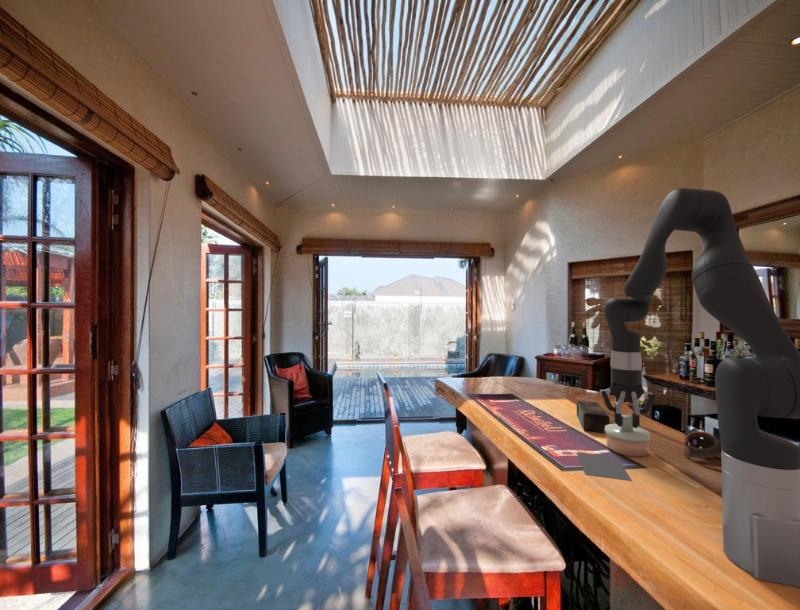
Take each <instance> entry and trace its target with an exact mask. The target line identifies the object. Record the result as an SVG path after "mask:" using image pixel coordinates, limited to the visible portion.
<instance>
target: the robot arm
mask: <svg viewBox="0 0 800 610" xmlns="http://www.w3.org/2000/svg"><path fill="white" fill-rule="evenodd" d="M674 231H683V232H684V231H685V232H693V233H696V234H698V235H699V237H700V238H701V241H702V243H703V247H704V249H703V252H702V253H701V254H700V256H699V258H698V259H697V261H696V263H694V264H695V265H694V267H693V269H692V272H691V281H692V286H693V287H694V291H695V293H696V296H697V299H698V302H699V304H700V306H701V307H702V308H703V309H704V310H705V311H706V312H707V313H708V314H709V315H711V317H713V318H714V319H716V320H717V321H718V322H719V323H721V324H722V325H723V326H725V327H726V328H728V329H729V330H731V331H732V332H733V333H735V335H737V336H738V337H740V338H741V339H742V340H743V341H744V343H746V344H747V345H748V347H749V348H750V350H751V351H752V352H753V354H754V356H755V358H744V357H739V358H738V357H736V358H735V357H733V358H726V359H723V360H721V361H720V362H719V364H718V365H717V367H716V370H715V374H714V389H715V400H716V411H717V426H718V431H719V432H718V433H719V437H720V442H721V457H720V458H721V501H722V502H721V505H722V506H721V511H722V513H721V514H722V516H721V517H722V542H723V543H722V544H723V549H722V550H723V553H724V555H726V558H728V559H729V560H730V561H731V562H733V563H734V564H736V565H737V566H738V567H739V568H741V569H743V570H745V571H747V572H749V573H750V574H751V575H752V576H753V577H754V578H755V579H757V580H763V581H766V582H767V581H768V582H771V583H777V584H782V585H787V586H792V587H797V588H800V447H799V446H798V445H797V444H795V443H794V442H792V441H789V440H787V439H785V438H782V437H779V436H776V435H774V434H770V433H768V432H766V431H764V430H762V429H760V427H759V423H758V417H764V418H765V417H768V418H780V419H781V418H782V419H798V420H799V419H800V351H799V350H798V348H797V347H796V345H795V344H794V342H793V341H792V339H791V337H790V336H789V335H788V333H787V331H786V330H785V328H784V327H783V325H782V323H781V321H780V319H779V318H778V316H777V314H776V311H775V310H774V308H773V306H772V304H771V302H770V300H769V298H768V296H767V293H766V291H765V288H764V286H763V284H762V282H761V279H760V277H759V275H758V273H757V271H756V269H755V266H754V265H753V263H752V262H751V260H750V258H749V256H748V254H747V252H746V249H745V246H744V245H743V242H742V240H741V238H740V235H739V232H738V230H737V226H736V223H735V219H734V214H733V212H732V207H731V204H730V202H729V200H728V198H727V197H726V196H725V195H724V194H723V193H721V192H719V191H716V190H711V189H701V188H699V189H698V188H688V187H680V188H675V189H674V190H671V192H669V193H668V194H667V195H666V196H665V198H664V199H663V201H662V202H661V205H660V207H659V209H658V211H657V214H656V216H655V218H654V220H653V224H652V226H651V229H650V230H649V233H648V235H647V239H646V241H645V245H644V247H643V249H642V252H641V254H640V257H639V259H638V260H637V261H638V262H637V263H636V264H635V266H634V268H633V270H632V272H631V273H630V275H629V277H628V278H627V280H626V281H625V283H624V285H623V292H624V293H625V295H626V296H628V297H614V298H613V297H612V298H610V299H608V300H607V301H606V303H605V304H604V307H603V314H604V318H605V320H606V324H607V327H608V331H609V334H610V336H611V337H610V339H611V340H610V341H611V353H610V354H611V355H610V361H609V362H610V385H609V387H608V388H606V389H601V388H600V389H599V394H600V396H601V398H602V400H603V402H604V404H605V406H606V408H607V409H608V410H609V411H611V412H613V422H614V424H617V425H618V426H619V427H621V415H622V413H621V412H622V407H623V406H624V403H629V404H630V405H631V409H632V413H631V416H632V417H633V427H634V428H637V427H640V425H641V424H640V423H641V419H640V416H641V415H643V414H645V415H646V414H648V412H649V410H650V408H651V407H652V404H653V402H654V400H655V399H656V396H655V394H654V393H653V392H649V391H646V390H645V388H643V367H642V366H643V365H642V363H643V361H642V360H643V359H642V355H641V335H640V333H639V332H637V331H636V330H632V329H628V327H627V326H626V324H625V323H637V322H640V321H642V320H644V319H645V318H646V317H647V316H648V313H649V310H650V306H651V303H652V298H653V295H654V294H655V292H656V291H657V290H658V288H659V286H660V285H661V283H662V282H663V281H664V279H665V278H666V274H667V271H668V264H667V255H666V246H667V245H666V244H667V241H668V239H669V237H670V236H671V234H673V232H674ZM611 393H612V395H613V396H614V405H612V403H611V401H610V396H611ZM642 396H643V399H644V400H643V401H642V402H641V405H639V401H638V400H640V398H641V397H642Z"/></svg>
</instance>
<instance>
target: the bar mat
mask: <svg viewBox="0 0 800 610" xmlns="http://www.w3.org/2000/svg"><path fill="white" fill-rule="evenodd" d="M576 455H577V458H578V460H579V463H580V465H581V467H582V470H583V472H584V475H585V476H591V477H599V478H607V479H614V480H622V481H629V482H633V480H632V478H631V477H630V475H629V473H628V472H627V470H626V469H625V467H624V466H623V464H622V463H621V461H620V459H619V457H618V456H616V455H615V456H614V455H606V454H604V455H603V454H597V453H589V452H580V451H577V452H576Z"/></svg>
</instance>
